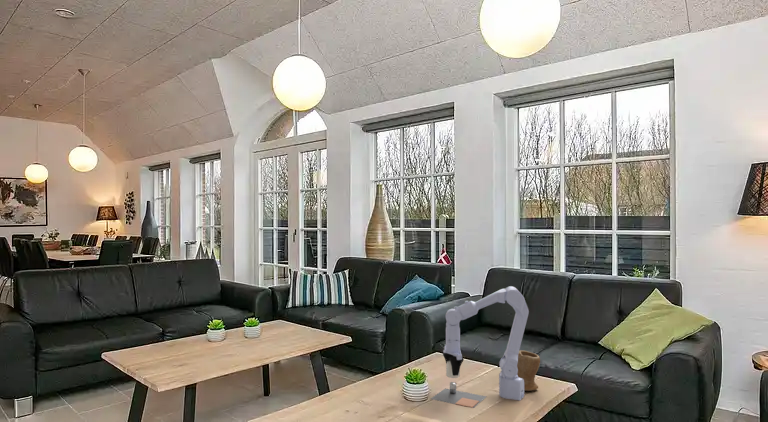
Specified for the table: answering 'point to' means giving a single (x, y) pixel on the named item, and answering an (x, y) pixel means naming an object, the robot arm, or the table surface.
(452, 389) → the metal post
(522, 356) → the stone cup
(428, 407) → the table surface
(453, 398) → the base board
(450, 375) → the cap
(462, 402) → the terracotta pad
